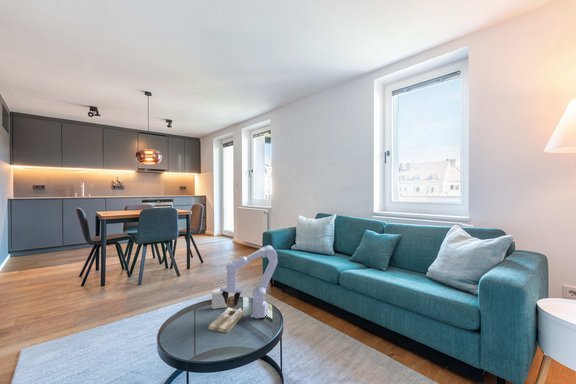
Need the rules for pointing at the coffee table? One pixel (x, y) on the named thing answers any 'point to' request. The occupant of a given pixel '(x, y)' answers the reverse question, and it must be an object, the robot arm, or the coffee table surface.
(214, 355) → the coffee table surface
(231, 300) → the walnut block
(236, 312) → the channel
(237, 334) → the coffee table surface
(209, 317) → the coffee table surface
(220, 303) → the photo printer
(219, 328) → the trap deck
